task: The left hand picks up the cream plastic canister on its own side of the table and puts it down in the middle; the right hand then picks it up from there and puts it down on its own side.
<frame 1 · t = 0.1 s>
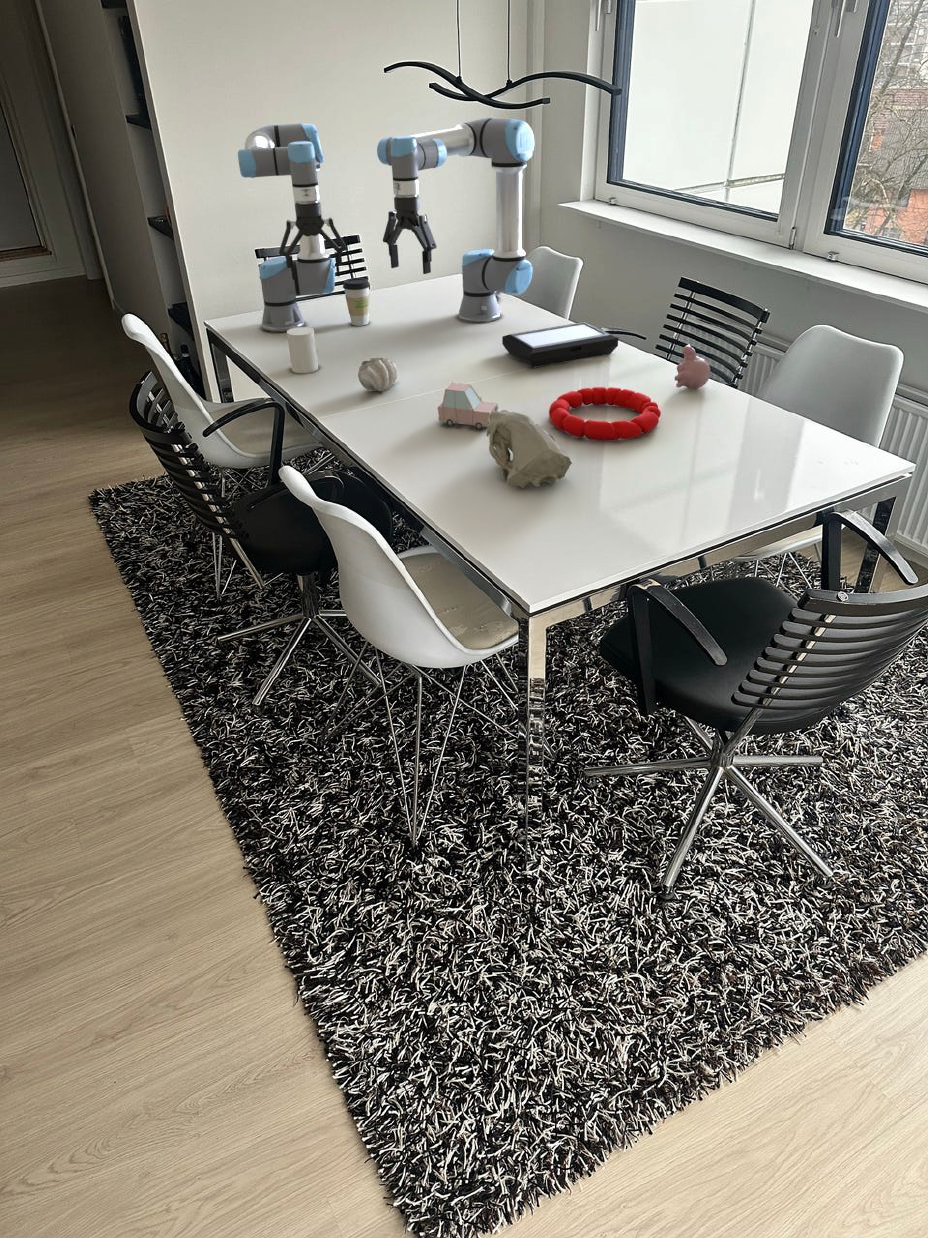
left hand: (316, 277, 273), 28 cm above the table, tool pointing down, fingers open, 13 cm apart
right hand: (410, 270, 276), 28 cm above the table, tool pointing down, fingers open, 13 cm apart
seashell: (380, 390, 269), on the table
decorative ring: (603, 422, 244), on the table
animal skull: (520, 470, 220), on the table
coffee cup: (360, 323, 327), on the table
toy car: (468, 423, 246), on the table
electronic device: (559, 354, 292), on the table
figurine: (690, 388, 263), on the table
canister: (305, 368, 287), on the table
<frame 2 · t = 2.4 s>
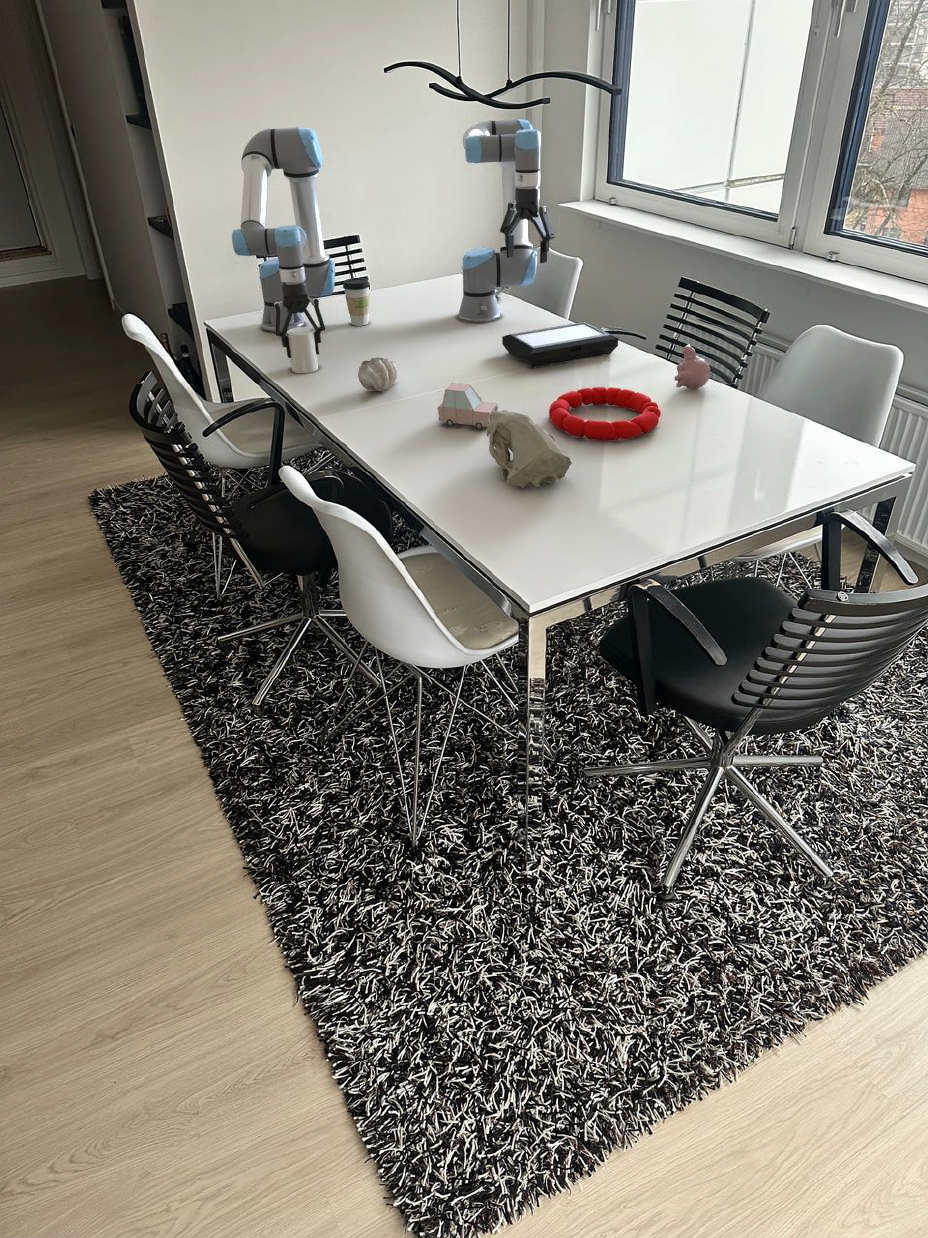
left hand: (303, 354, 285), 5 cm above the table, tool pointing down, fingers closed on canister, 8 cm apart
right hand: (526, 259, 286), 27 cm above the table, tool pointing down, fingers open, 13 cm apart
canister: (305, 368, 287), on the table, touching left hand
everything else where it was.
when the left hand's fingers open (5 cm above the table, at t = 7.6 s): canister stays where it is, on the table.
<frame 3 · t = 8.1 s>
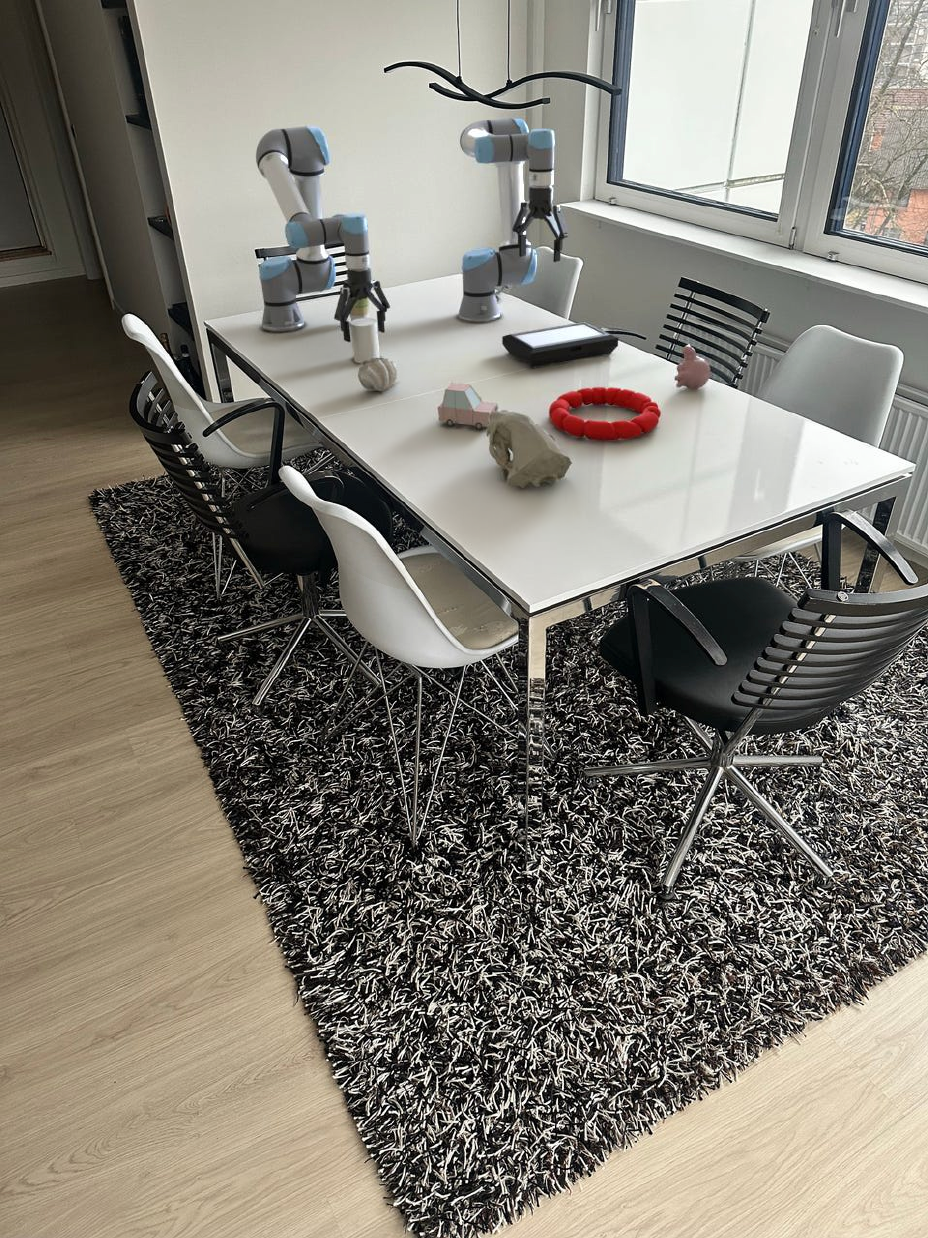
left hand: (364, 336, 289), 7 cm above the table, tool pointing down, fingers open, 13 cm apart
right hand: (539, 258, 287), 27 cm above the table, tool pointing down, fingers open, 13 cm apart
canister: (366, 359, 293), on the table
everything else where it was.
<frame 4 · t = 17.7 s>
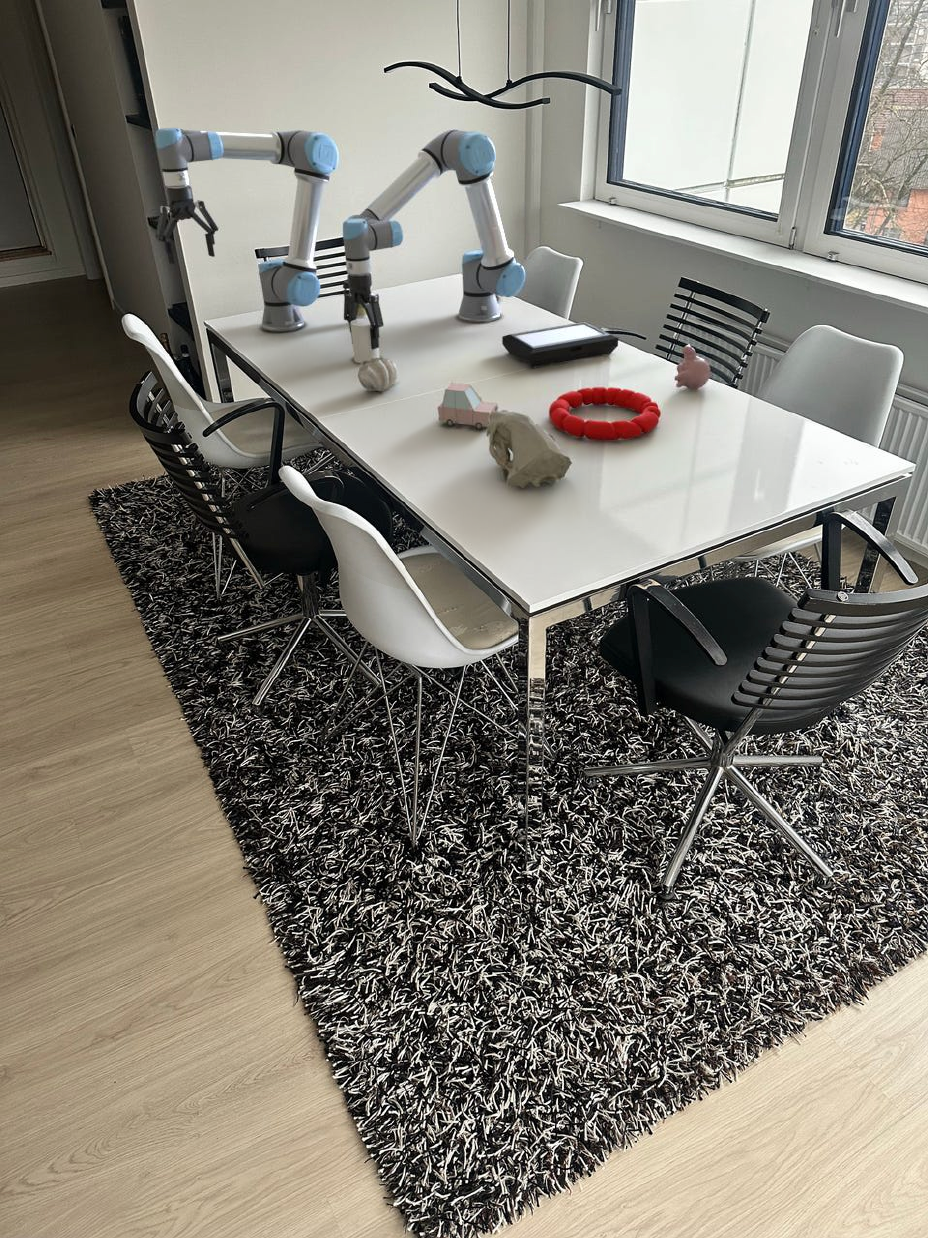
left hand: (192, 259, 282), 31 cm above the table, tool pointing down, fingers open, 13 cm apart
right hand: (365, 345, 291), 5 cm above the table, tool pointing down, fingers closed on canister, 8 cm apart
canister: (366, 359, 293), on the table, touching right hand
everything else where it was.
when the right hand's fingers open (5 cm above the table, at t = 26.5 s): canister stays where it is, on the table.
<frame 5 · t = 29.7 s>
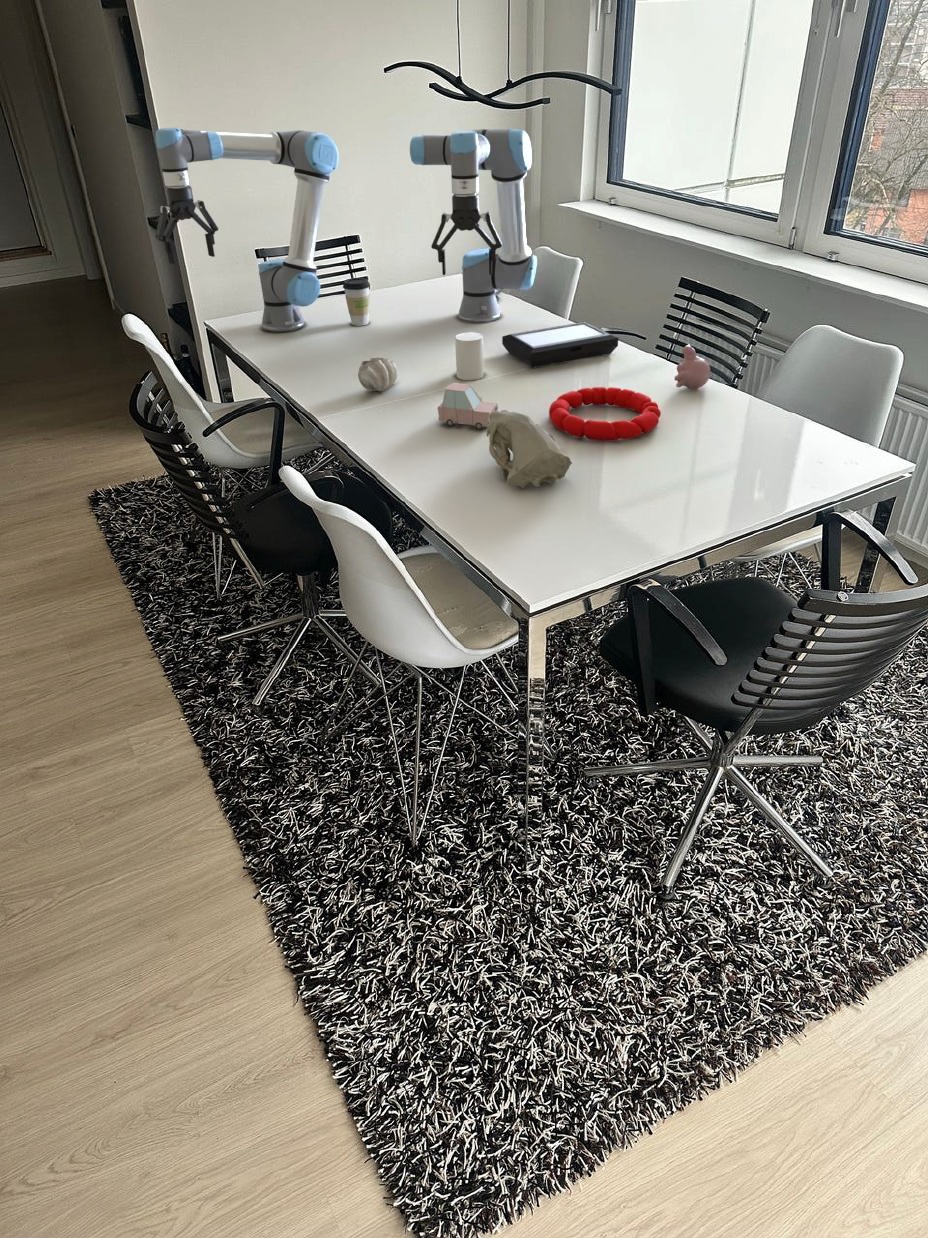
left hand: (192, 259, 282), 31 cm above the table, tool pointing down, fingers open, 13 cm apart
right hand: (467, 273, 260), 30 cm above the table, tool pointing down, fingers open, 13 cm apart
canister: (470, 375, 278), on the table
everything else where it was.
at the end: canister inside the target area (0.1 cm from its centre), on the table; canister tilted 0°; the two hands never held the canister at the same time; the left hand is holding nothing; the right hand is holding nothing; canister at rest at the end (0.0 cm/s) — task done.
